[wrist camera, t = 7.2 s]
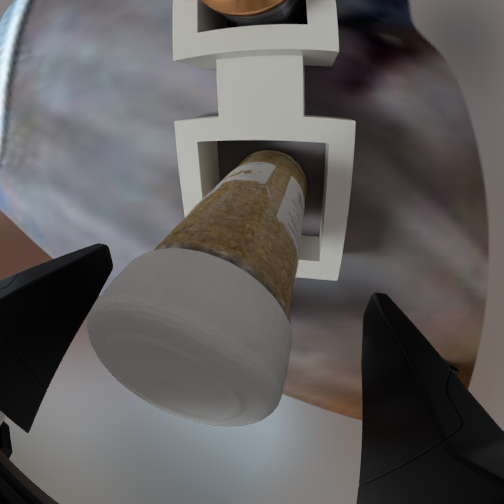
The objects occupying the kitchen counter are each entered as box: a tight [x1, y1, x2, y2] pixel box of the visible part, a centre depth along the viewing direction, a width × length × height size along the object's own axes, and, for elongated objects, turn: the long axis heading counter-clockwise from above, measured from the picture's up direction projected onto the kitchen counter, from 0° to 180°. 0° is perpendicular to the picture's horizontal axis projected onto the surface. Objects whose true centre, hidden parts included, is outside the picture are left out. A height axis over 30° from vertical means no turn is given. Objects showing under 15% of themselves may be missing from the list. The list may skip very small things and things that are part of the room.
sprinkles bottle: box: [87, 150, 307, 426], centre depth 11 cm, size 5×5×14 cm
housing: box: [173, 0, 356, 281], centre depth 12 cm, size 19×9×4 cm, turn 2°
